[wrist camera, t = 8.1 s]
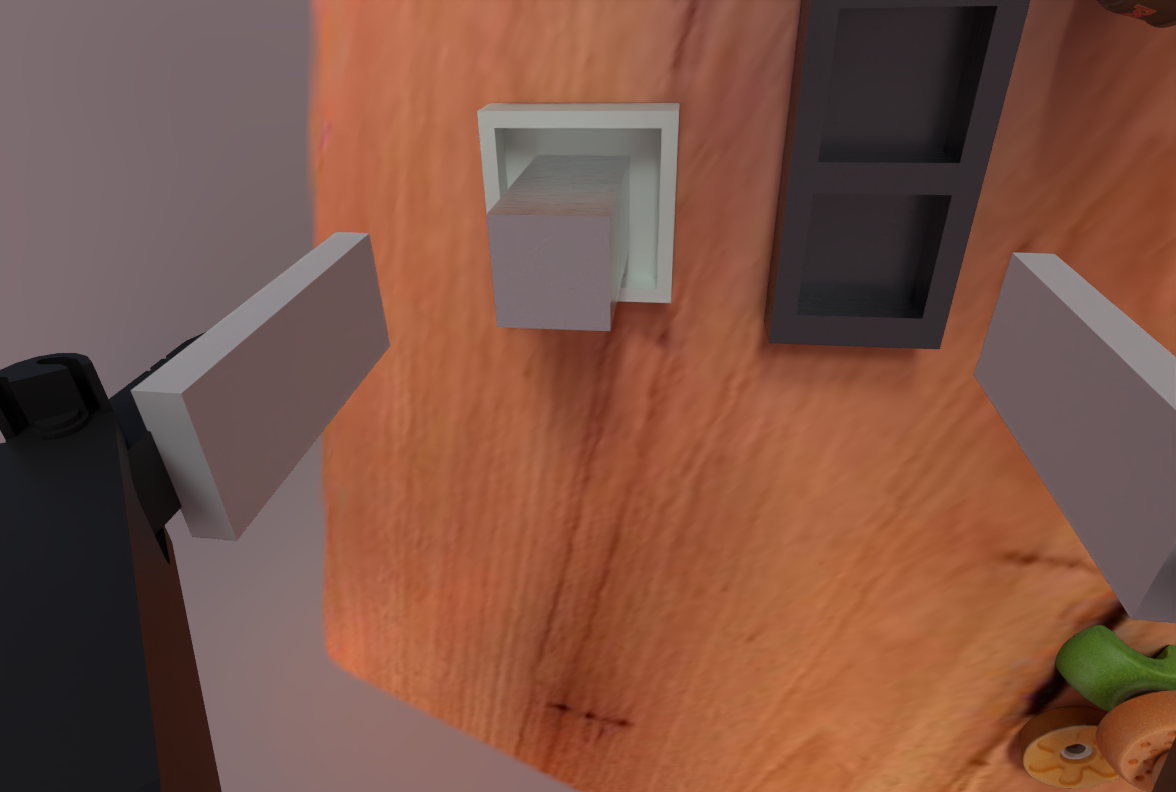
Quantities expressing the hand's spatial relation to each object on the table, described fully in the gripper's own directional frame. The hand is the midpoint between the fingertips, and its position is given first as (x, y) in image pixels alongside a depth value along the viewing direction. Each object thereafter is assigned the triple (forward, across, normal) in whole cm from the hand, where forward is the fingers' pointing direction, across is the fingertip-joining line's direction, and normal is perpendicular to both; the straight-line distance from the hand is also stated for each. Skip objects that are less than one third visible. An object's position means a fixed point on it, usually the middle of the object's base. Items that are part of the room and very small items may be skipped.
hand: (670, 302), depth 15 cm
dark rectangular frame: (+25, +10, -3) cm, 27 cm away
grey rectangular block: (+24, -5, -5) cm, 26 cm away
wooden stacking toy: (+25, +37, -43) cm, 62 cm away
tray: (+25, -5, -5) cm, 26 cm away
